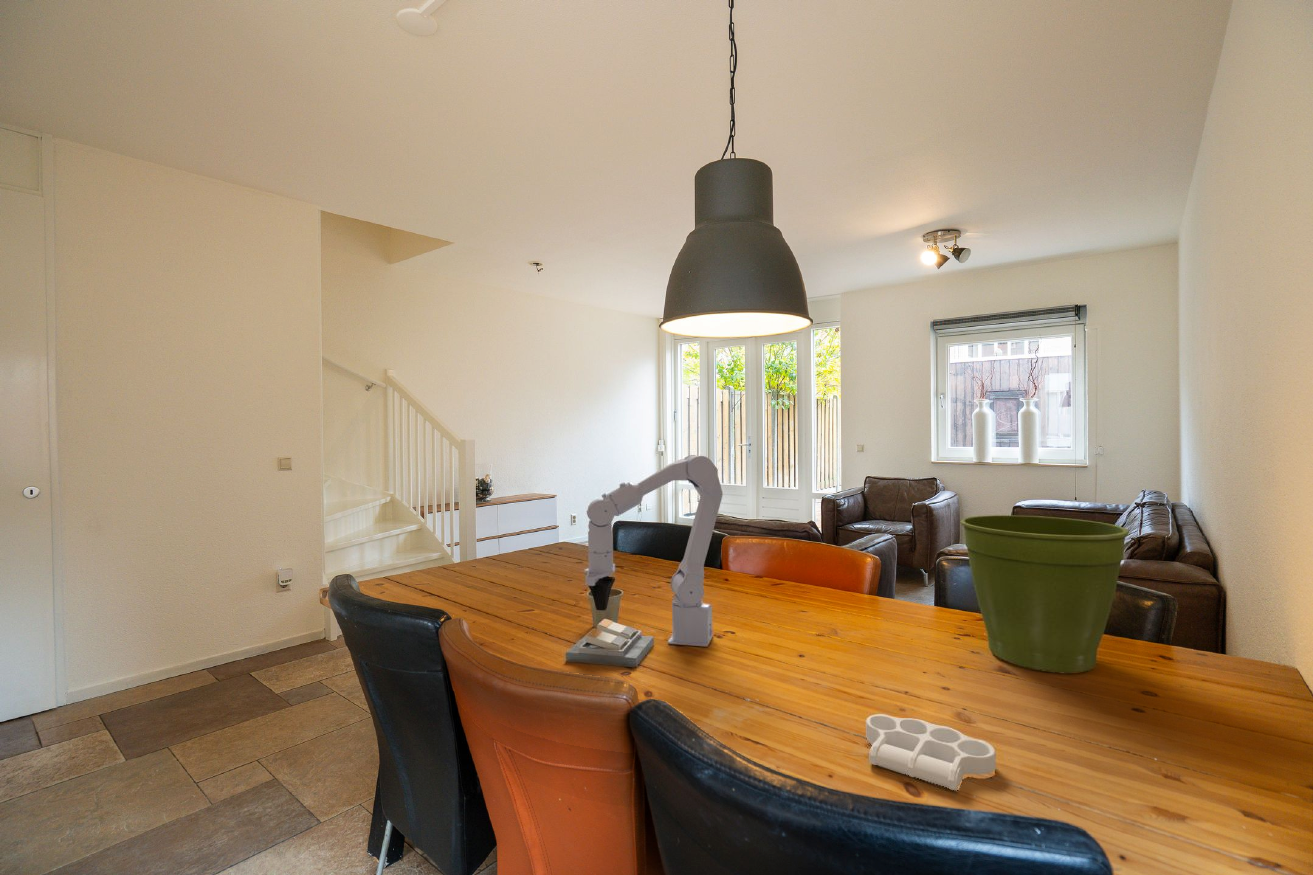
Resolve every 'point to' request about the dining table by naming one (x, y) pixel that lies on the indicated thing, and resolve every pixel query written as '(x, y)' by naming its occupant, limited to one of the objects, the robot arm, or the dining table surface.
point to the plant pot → (1044, 586)
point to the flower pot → (612, 607)
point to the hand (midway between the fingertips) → (601, 609)
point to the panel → (612, 652)
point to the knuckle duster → (927, 750)
